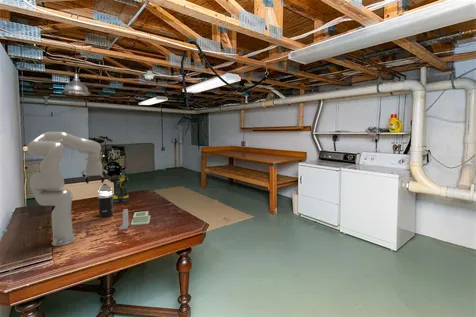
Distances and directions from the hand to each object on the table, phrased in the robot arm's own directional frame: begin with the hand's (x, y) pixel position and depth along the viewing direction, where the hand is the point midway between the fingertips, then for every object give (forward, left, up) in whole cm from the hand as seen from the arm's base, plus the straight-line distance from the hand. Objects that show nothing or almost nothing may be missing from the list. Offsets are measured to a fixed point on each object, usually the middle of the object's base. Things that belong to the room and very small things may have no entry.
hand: (95, 182), depth 181 cm
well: (-11, -32, -28) cm, 43 cm away
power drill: (+47, -8, -28) cm, 55 cm away
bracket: (-22, -22, -28) cm, 41 cm away
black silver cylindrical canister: (+8, -5, -28) cm, 29 cm away
